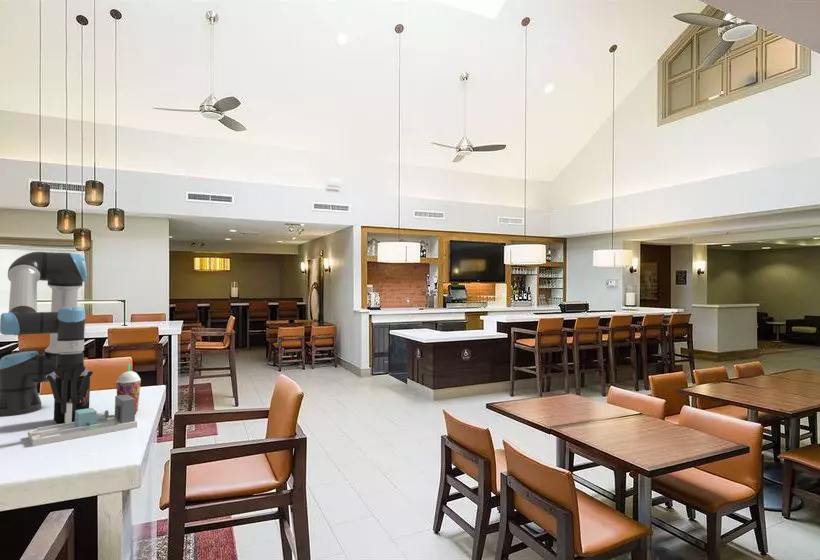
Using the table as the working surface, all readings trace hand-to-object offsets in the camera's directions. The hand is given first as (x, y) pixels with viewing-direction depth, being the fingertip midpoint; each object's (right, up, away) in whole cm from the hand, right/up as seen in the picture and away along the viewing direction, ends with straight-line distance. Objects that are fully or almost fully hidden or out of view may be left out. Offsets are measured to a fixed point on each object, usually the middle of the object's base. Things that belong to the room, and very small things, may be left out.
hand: (68, 422), depth 153 cm
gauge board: (+3, -5, +3) cm, 6 cm away
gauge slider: (+6, -2, +4) cm, 7 cm away
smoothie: (+5, -5, +25) cm, 26 cm away
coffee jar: (-11, -5, +17) cm, 21 cm away
